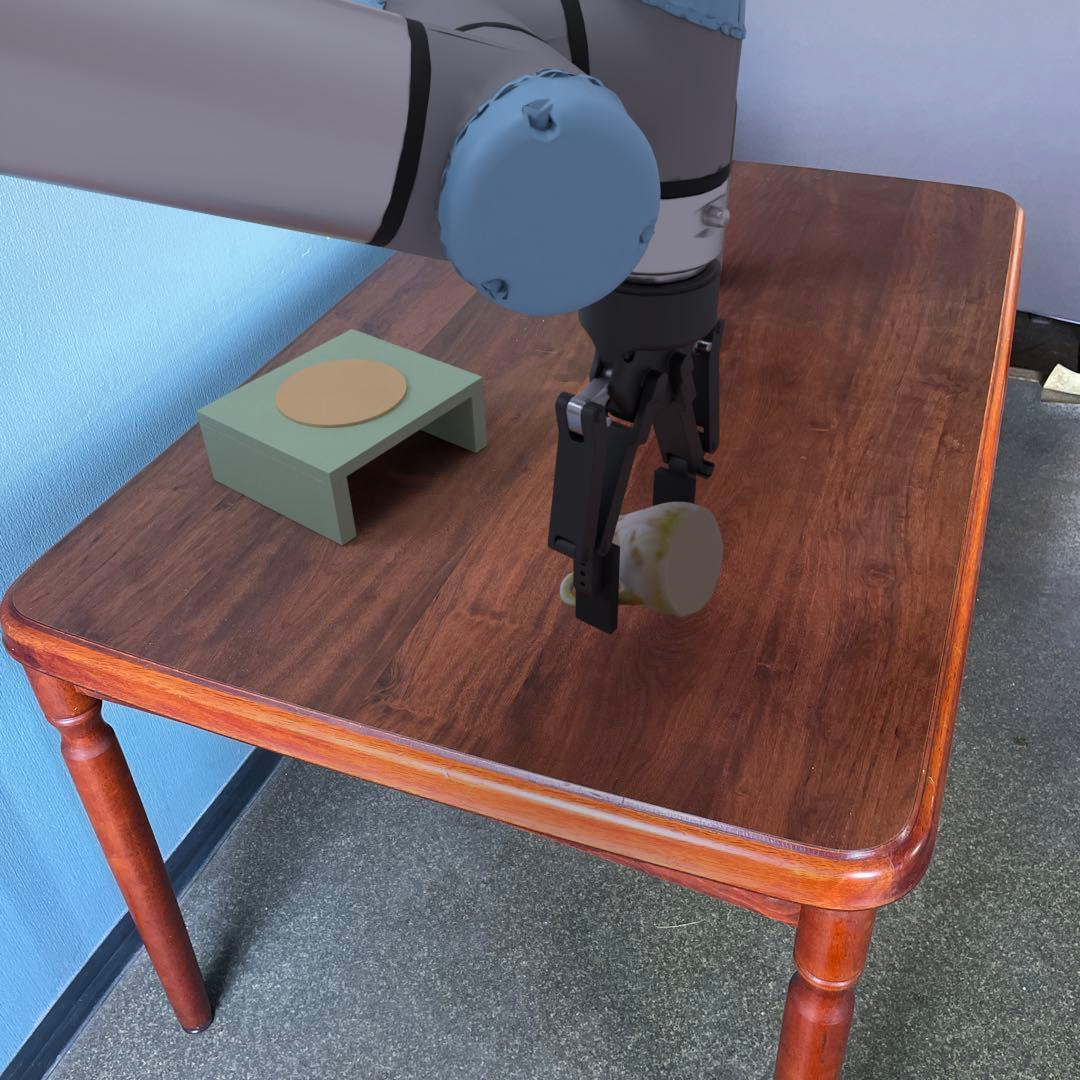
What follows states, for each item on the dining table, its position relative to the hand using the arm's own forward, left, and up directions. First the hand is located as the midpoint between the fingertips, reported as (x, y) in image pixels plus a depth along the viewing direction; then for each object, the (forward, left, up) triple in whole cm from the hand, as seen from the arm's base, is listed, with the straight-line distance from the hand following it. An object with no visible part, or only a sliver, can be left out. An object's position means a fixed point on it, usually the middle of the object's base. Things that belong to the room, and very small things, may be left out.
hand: (634, 587), depth 70 cm
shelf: (-34, +6, -7) cm, 35 cm away
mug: (0, 0, 0) cm, 0 cm away
